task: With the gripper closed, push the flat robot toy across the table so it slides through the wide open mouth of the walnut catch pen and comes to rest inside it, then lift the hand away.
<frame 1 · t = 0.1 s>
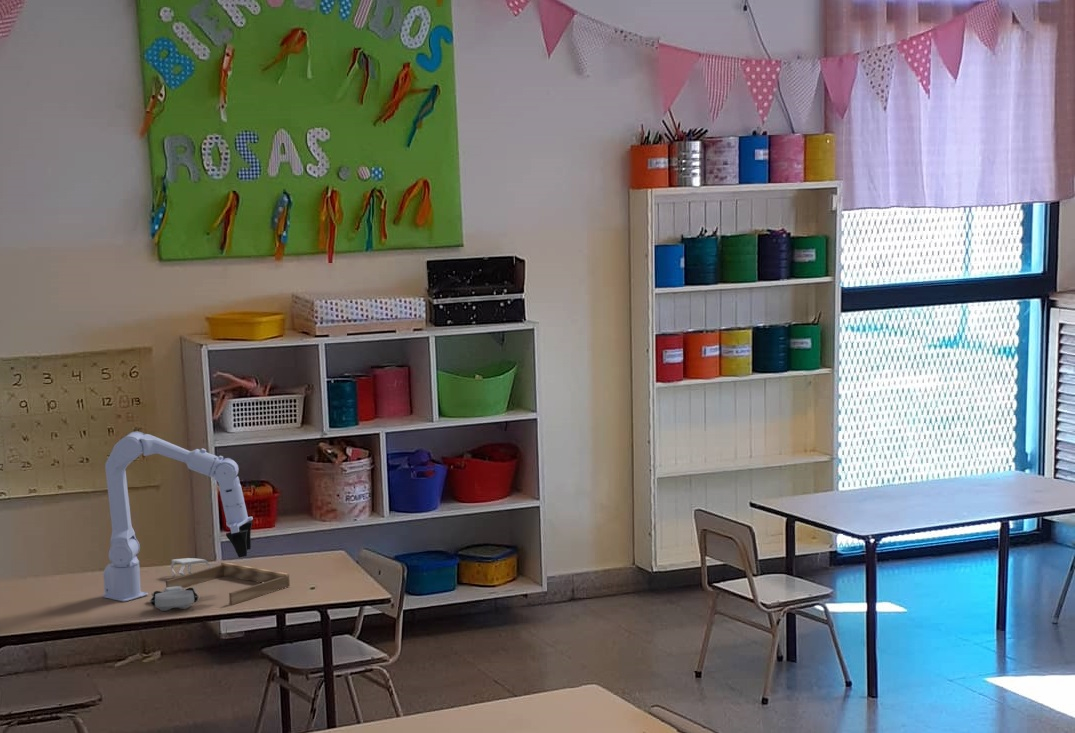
hand: (244, 553, 368), 11 cm above the table, tool pointing down, fingers open, 7 cm apart
robot toy: (174, 607, 357), on the table
origami figure: (191, 578, 386), on the table
catch pen: (227, 589, 372), on the table
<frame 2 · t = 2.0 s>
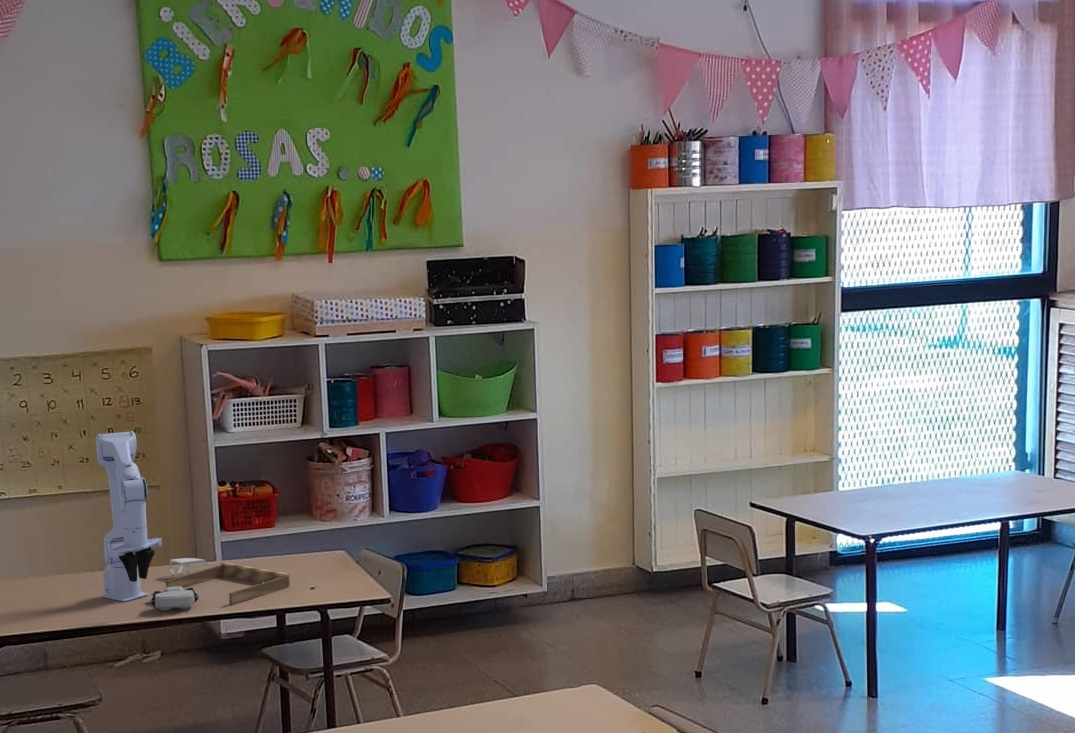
hand: (138, 579, 347), 9 cm above the table, tool pointing down, fingers closed
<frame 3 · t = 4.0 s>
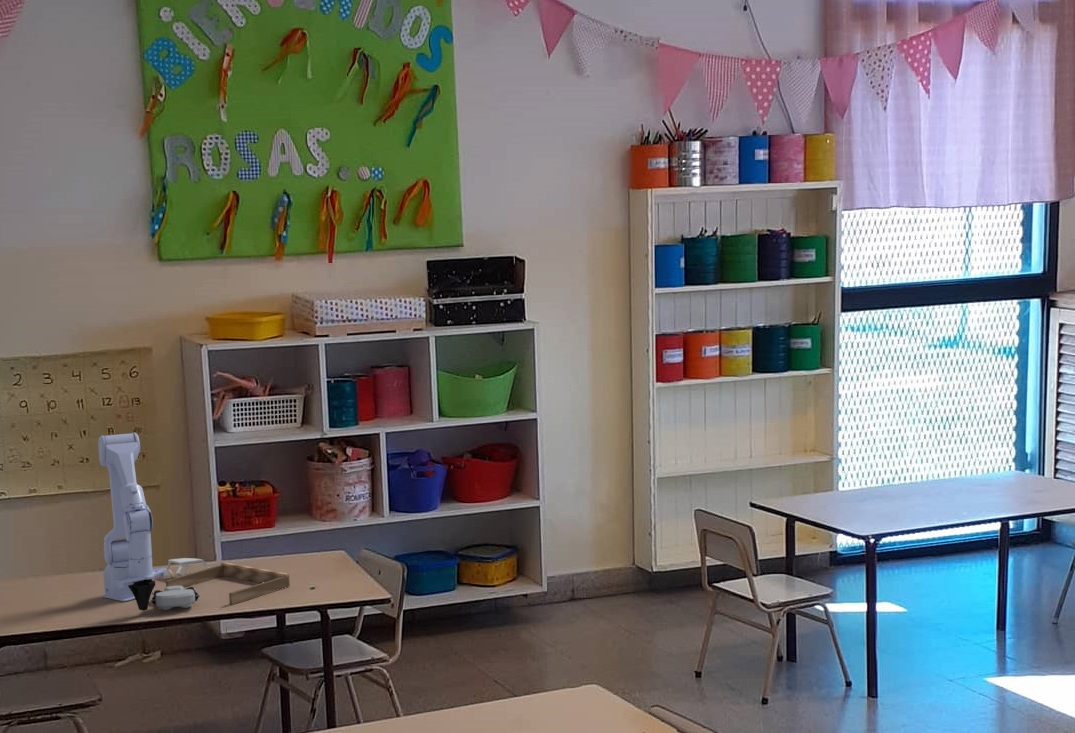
hand: (143, 609, 349), 1 cm above the table, tool pointing down, fingers closed
robot toy: (175, 606, 357), on the table, touching gripper
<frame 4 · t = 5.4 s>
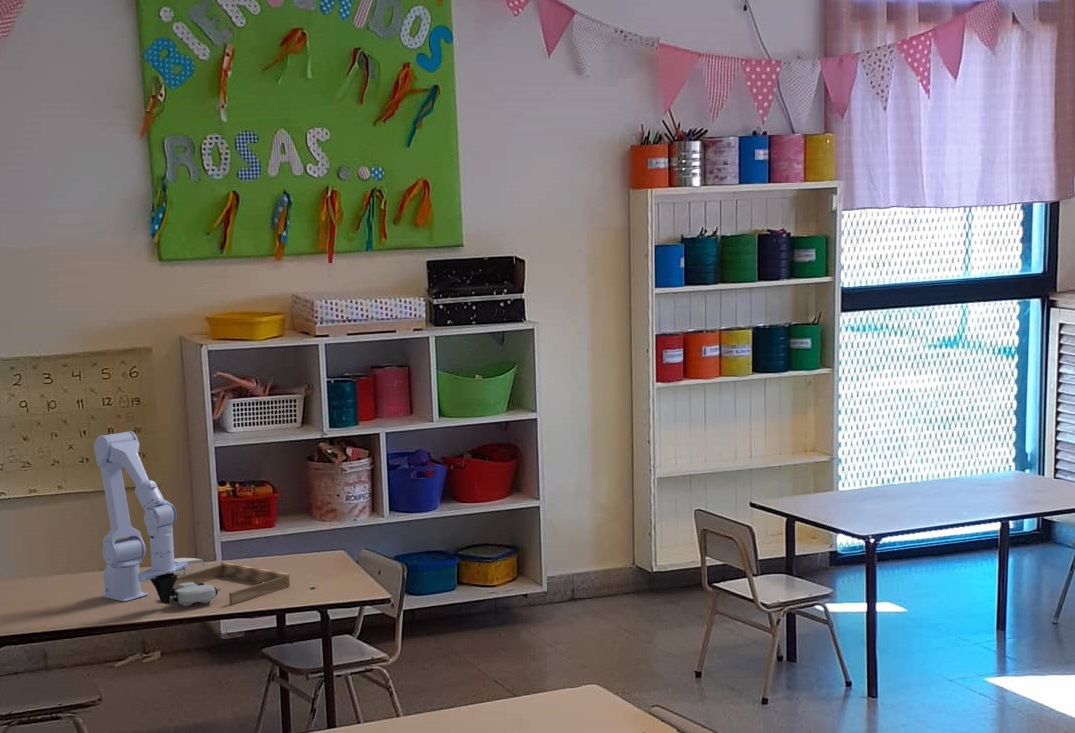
hand: (165, 602, 355), 1 cm above the table, tool pointing down, fingers closed
robot toy: (191, 602, 361), on the table, touching gripper
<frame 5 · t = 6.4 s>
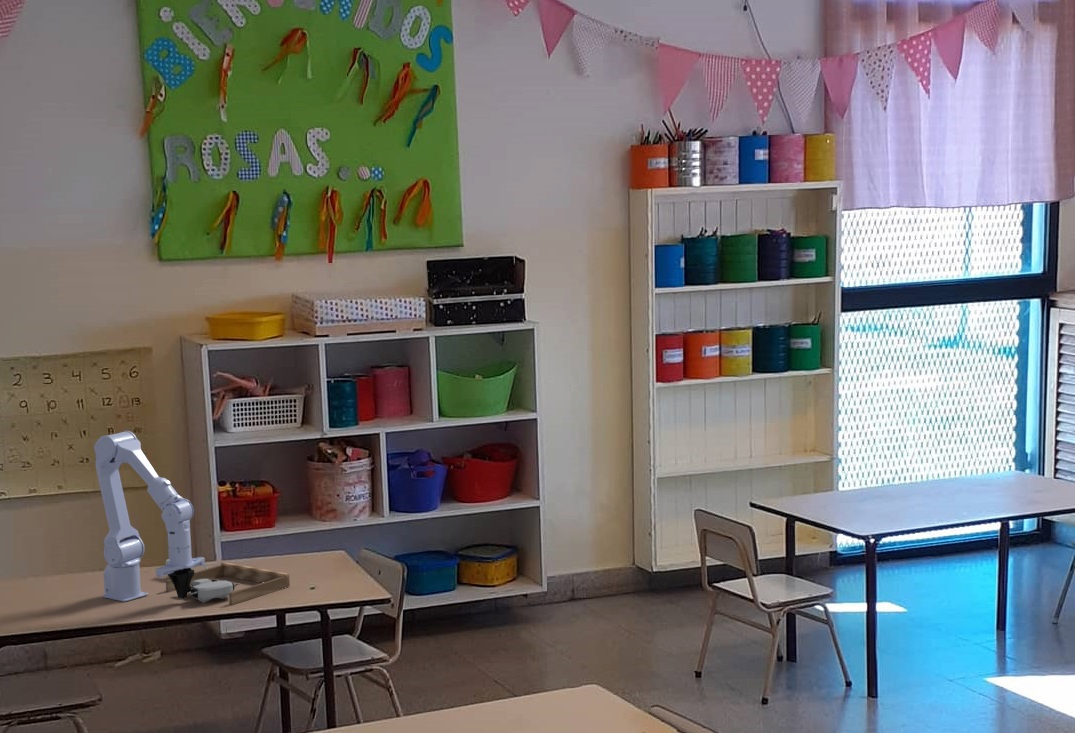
hand: (182, 597, 359), 1 cm above the table, tool pointing down, fingers closed
robot toy: (208, 598, 364), on the table, touching gripper
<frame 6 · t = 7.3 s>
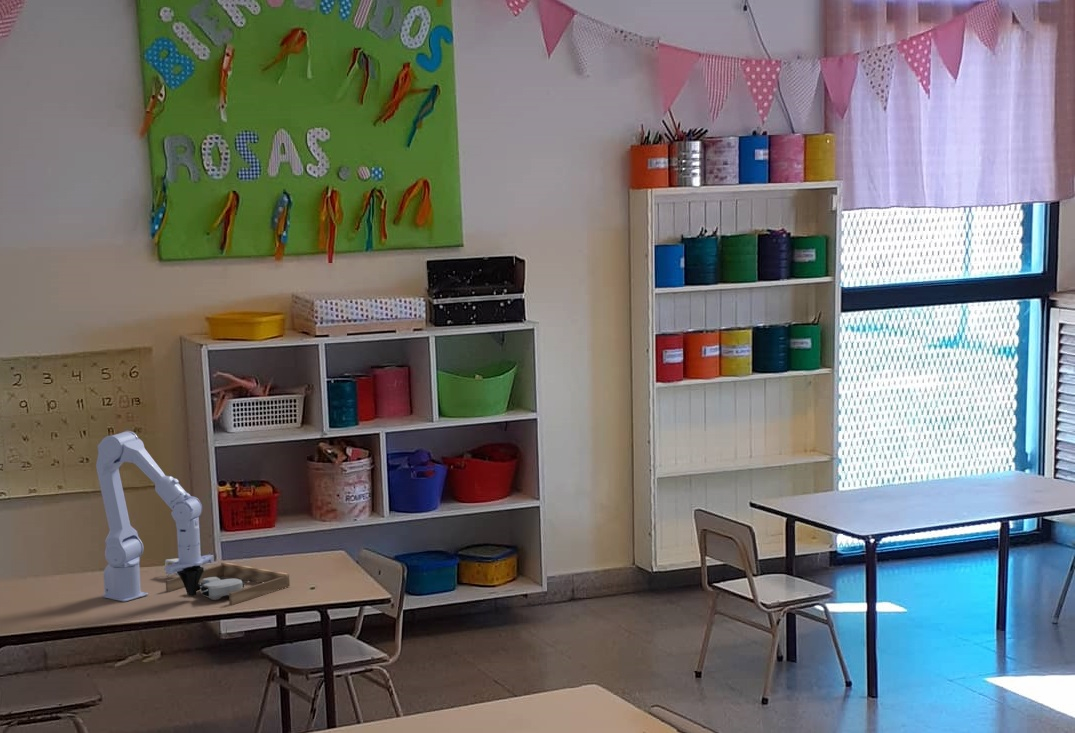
hand: (191, 594, 362), 1 cm above the table, tool pointing down, fingers closed
robot toy: (217, 596, 366), on the table, touching gripper
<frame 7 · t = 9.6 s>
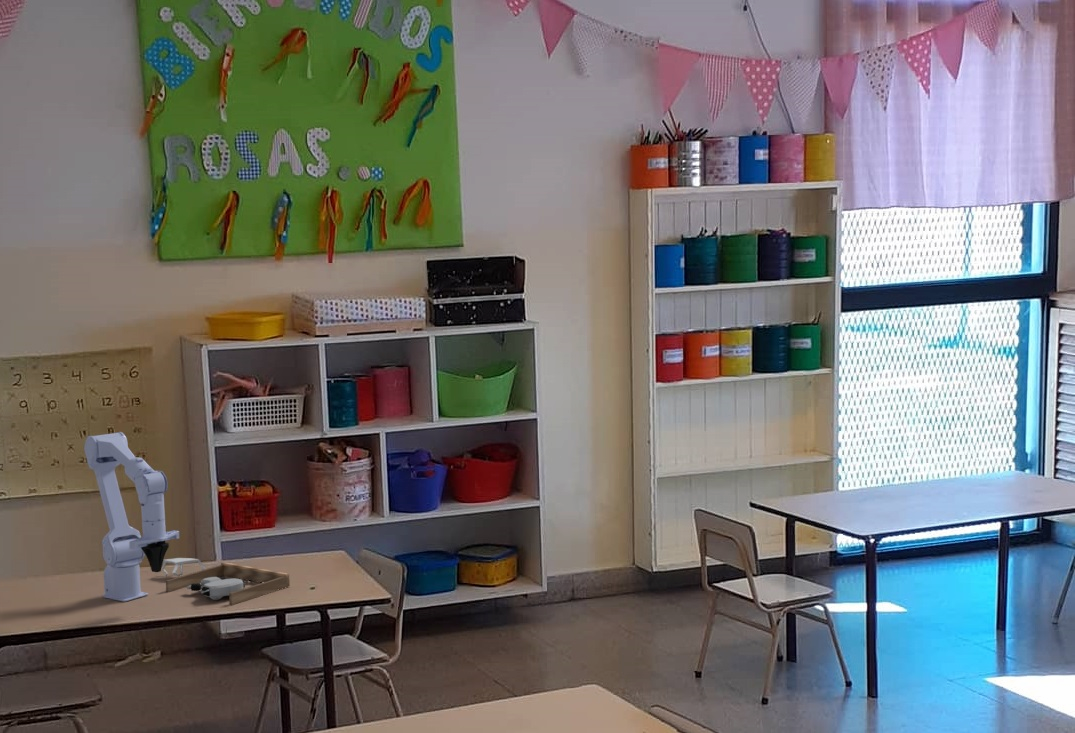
hand: (156, 571, 353), 10 cm above the table, tool pointing down, fingers closed
robot toy: (218, 596, 366), on the table
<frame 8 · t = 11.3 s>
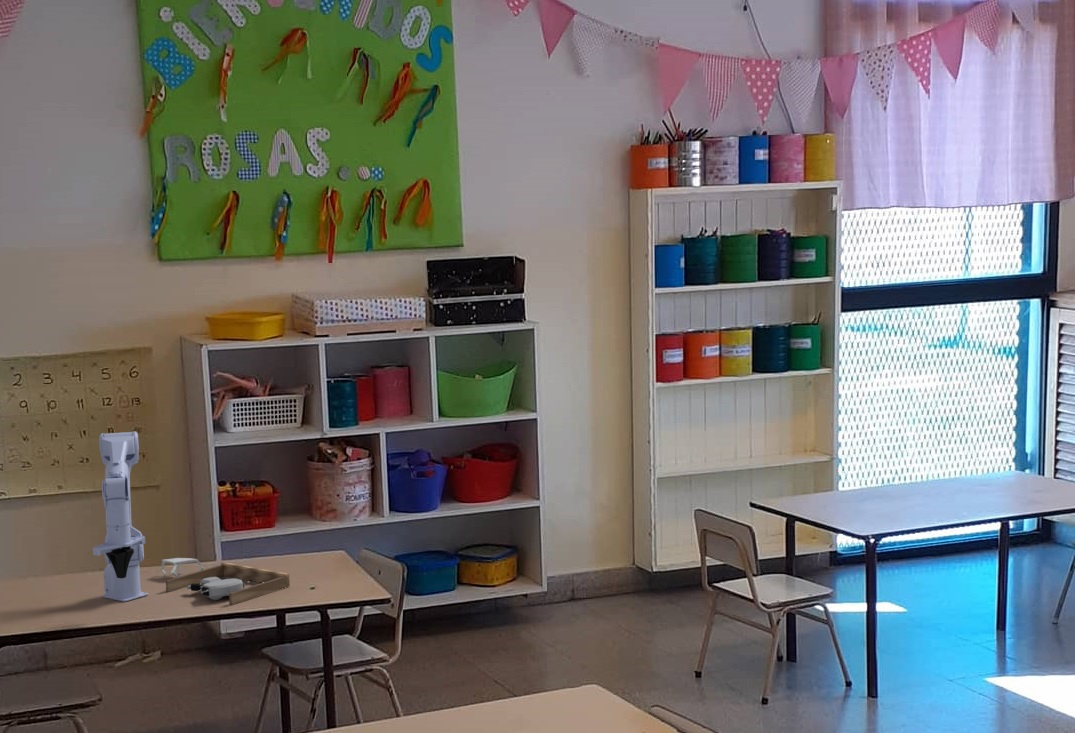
hand: (121, 577, 348), 10 cm above the table, tool pointing down, fingers closed
at the end: robot toy inside the target area (6.5 cm from its centre), on the table; robot toy moved 12.9 cm from its start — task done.
